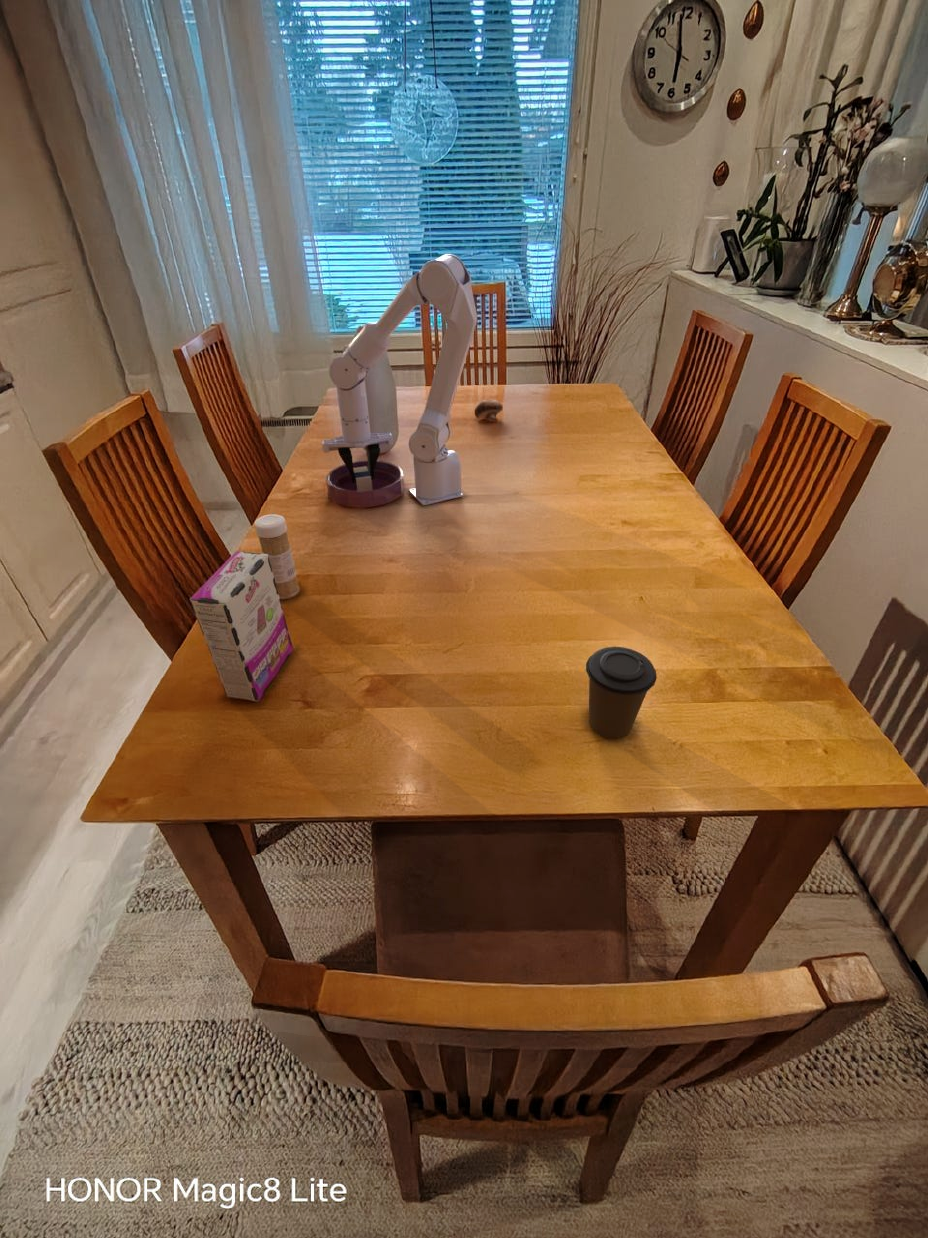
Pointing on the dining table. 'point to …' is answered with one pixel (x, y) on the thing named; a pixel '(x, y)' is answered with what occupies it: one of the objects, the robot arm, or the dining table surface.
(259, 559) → the candy bar box
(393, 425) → the white tall rounded piece
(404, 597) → the dining table surface
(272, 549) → the sprinkles bottle
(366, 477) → the eraser
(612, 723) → the coffee cup
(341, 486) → the bowl
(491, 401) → the mushroom
